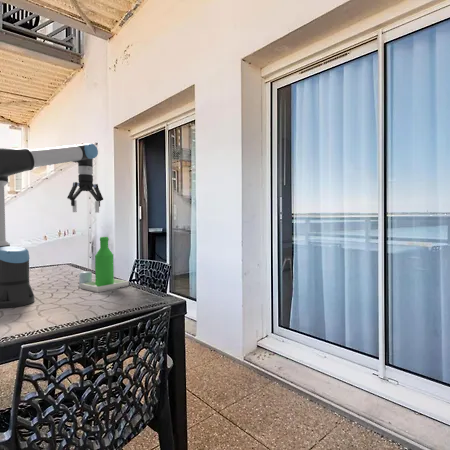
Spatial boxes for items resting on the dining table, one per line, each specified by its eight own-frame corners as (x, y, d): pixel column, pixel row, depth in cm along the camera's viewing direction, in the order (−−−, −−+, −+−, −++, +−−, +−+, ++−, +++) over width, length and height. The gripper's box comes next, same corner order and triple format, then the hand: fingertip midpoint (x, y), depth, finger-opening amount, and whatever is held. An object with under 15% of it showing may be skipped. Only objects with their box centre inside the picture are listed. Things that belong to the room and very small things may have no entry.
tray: (97, 292, 155) (97, 287, 155) (80, 288, 164) (80, 283, 164) (128, 285, 169) (128, 281, 169) (111, 282, 178) (111, 278, 178)
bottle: (109, 287, 162) (109, 237, 161) (92, 287, 162) (91, 237, 162) (116, 283, 171) (115, 236, 170) (99, 283, 171) (99, 236, 170)
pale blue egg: (83, 287, 167) (83, 273, 166) (77, 285, 170) (76, 272, 170) (94, 285, 171) (93, 272, 171) (87, 284, 175) (87, 271, 175)
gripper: (67, 171, 170) (68, 212, 170) (109, 176, 190) (109, 212, 190) (60, 172, 174) (60, 212, 175) (101, 177, 194) (102, 212, 195)
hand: (86, 212), depth 182 cm, fingers open, 13 cm apart
